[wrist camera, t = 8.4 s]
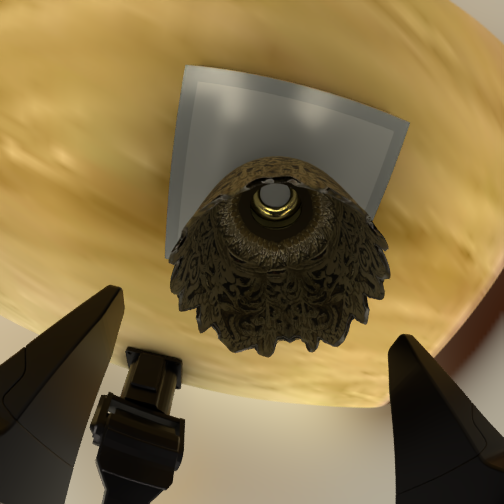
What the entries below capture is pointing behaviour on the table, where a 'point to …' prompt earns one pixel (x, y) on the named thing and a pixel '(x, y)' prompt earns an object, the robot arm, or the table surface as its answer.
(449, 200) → the table surface
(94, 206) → the table surface
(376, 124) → the slate base
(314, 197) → the cup
